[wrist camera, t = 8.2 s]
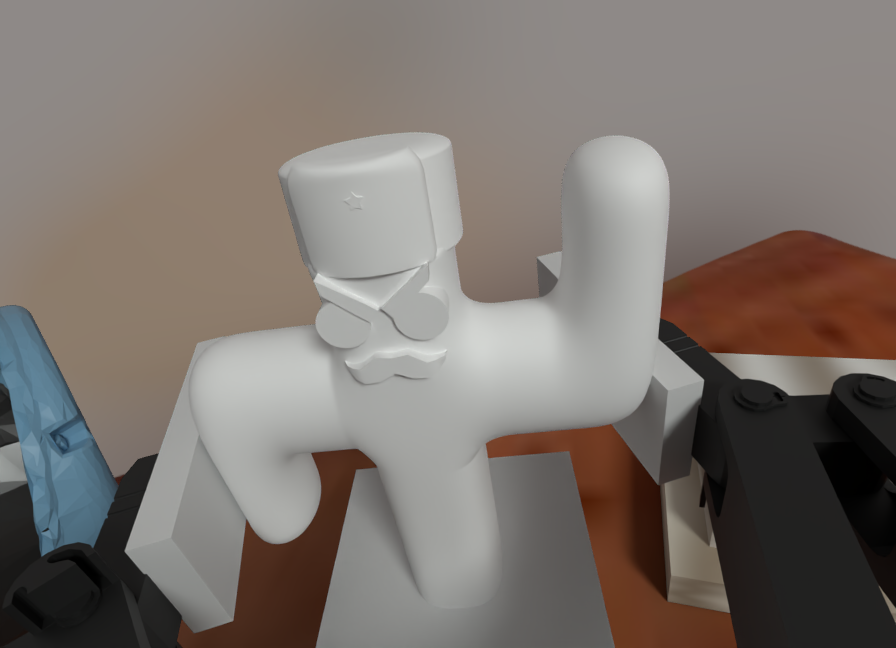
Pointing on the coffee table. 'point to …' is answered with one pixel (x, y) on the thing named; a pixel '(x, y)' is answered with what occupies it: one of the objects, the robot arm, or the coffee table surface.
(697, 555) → the plinth
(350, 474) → the coffee table surface
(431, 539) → the figurine
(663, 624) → the coffee table surface
